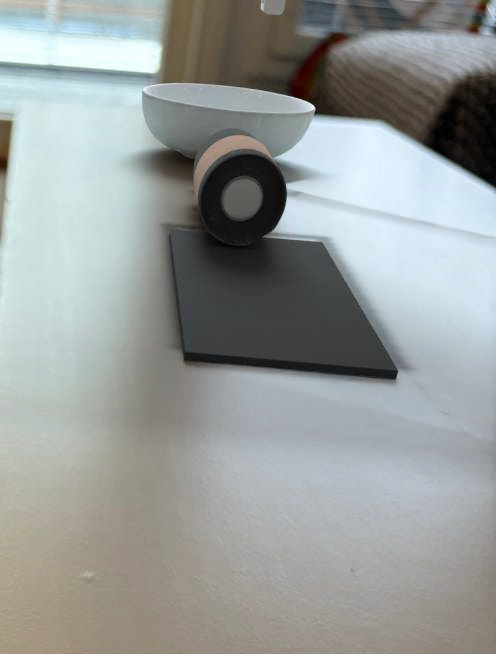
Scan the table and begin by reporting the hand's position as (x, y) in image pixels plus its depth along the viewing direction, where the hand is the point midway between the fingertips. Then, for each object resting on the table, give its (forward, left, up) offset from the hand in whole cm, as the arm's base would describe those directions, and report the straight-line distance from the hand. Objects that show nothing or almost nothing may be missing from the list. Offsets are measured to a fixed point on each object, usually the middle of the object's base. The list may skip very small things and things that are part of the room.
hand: (271, 13), depth 88 cm
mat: (-17, +21, -17) cm, 32 cm away
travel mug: (+4, -3, -14) cm, 14 cm away
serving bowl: (+18, -23, -17) cm, 34 cm away
